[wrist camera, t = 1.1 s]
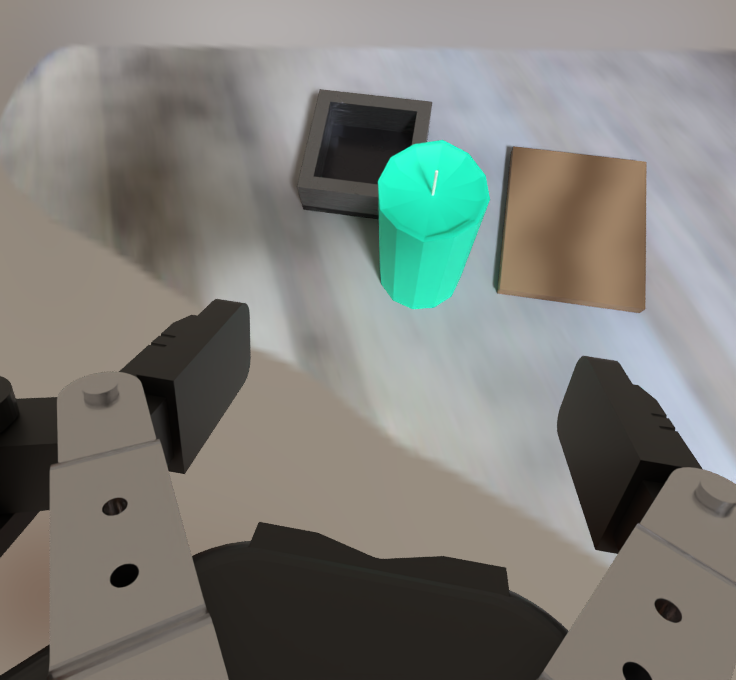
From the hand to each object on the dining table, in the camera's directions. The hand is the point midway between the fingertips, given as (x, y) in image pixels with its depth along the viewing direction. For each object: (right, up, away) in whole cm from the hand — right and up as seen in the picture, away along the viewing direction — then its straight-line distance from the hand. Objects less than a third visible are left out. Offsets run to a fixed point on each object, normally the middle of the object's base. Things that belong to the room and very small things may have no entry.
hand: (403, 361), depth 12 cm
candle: (+3, +6, +24) cm, 25 cm away
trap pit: (-1, +14, +26) cm, 30 cm away
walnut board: (+14, +9, +24) cm, 29 cm away
